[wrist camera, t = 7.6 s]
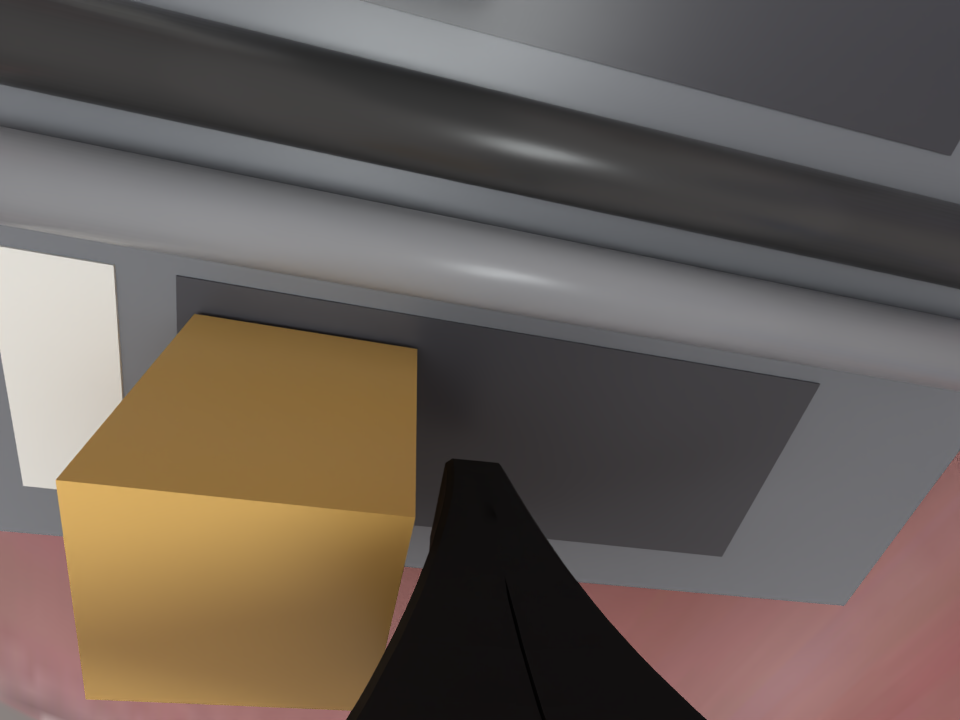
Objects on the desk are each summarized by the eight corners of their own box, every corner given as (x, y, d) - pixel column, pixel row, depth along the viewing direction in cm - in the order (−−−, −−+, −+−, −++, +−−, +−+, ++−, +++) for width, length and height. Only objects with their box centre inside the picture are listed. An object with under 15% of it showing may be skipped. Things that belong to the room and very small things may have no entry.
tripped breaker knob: (417, 348, 11) (414, 517, 7) (386, 506, 13) (370, 711, 9) (194, 313, 10) (55, 479, 6) (194, 486, 12) (85, 699, 8)
